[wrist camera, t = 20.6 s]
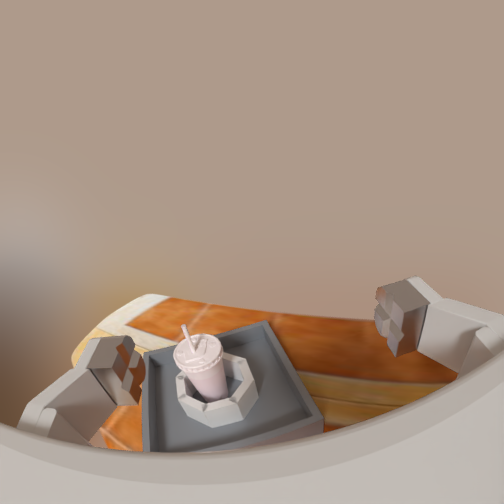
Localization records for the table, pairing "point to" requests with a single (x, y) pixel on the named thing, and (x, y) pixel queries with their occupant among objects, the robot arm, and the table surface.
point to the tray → (228, 399)
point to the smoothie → (203, 364)
